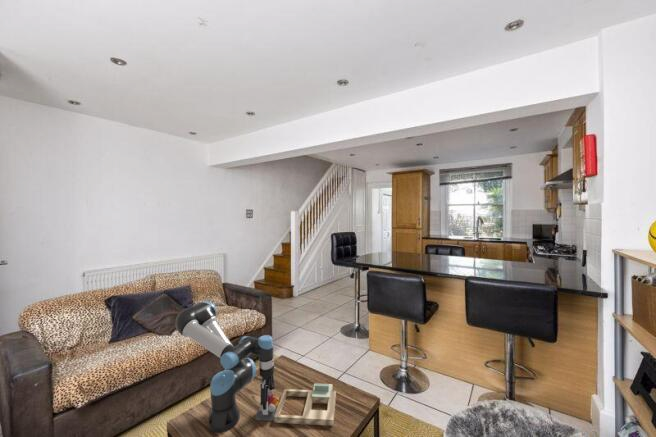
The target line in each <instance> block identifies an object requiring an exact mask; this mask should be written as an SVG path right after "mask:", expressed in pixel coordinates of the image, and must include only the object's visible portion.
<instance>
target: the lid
mask: <svg viewBox="0 0 656 437" xmlns="http://www.w3.org/2000/svg"><path fill="white" fill-rule="evenodd" d="M331 384H332V383H313V386H314V388H312V390H313V393H312V397H314V398H330V392H331Z"/></svg>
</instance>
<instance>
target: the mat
mask: <svg viewBox="0 0 656 437" xmlns="http://www.w3.org/2000/svg"><path fill="white" fill-rule="evenodd" d="M277 407H278V406H277ZM277 407H276V408H275V410H274V411H273V412H270V411H269V410H268V415H263V412H262V411H261V405H260V406H259V409H258V411H257V413H256V415H255V417H254V421H266V422H267V421H269V422H271V421H272V422H274V415H275V412H276V410H277Z"/></svg>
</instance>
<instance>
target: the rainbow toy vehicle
mask: <svg viewBox="0 0 656 437" xmlns="http://www.w3.org/2000/svg"><path fill="white" fill-rule="evenodd" d="M267 402H268V410H269V411H270V412H273V411H274V410H275V408H276V407H277V406H278V405H279V402H280V399H279V396H276V395H275V396H274V393H273V394H271V396H270V395H269V394H268V396H267ZM260 406H261V411H262V412H263V409H262V405H261V404H260Z"/></svg>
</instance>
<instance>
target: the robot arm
mask: <svg viewBox="0 0 656 437" xmlns="http://www.w3.org/2000/svg"><path fill="white" fill-rule="evenodd" d="M217 313H218V311H217V307H216V305H215V304H214V303H213V302H211V301H207V300H205V301H202V302H199V303H197V304H195V305H191V306H190V307H187V308H186V307H185V308H184V309H183V310H181V311H180V312H179V313H178V314H177V316H176V317H175V329H176V330H177V332H178V333H179V335H182V336H183V337H184V338H190V339H191V340H192V341H194V342H196V343H197V344H199V345H200V346H202V347H203V348H204V349H206V350H207V351H208V352H210V353H213V355H215V356H216V357H218V358H220V360H219V361H220V365H221V366H222V367H223V369H224V370H222V371H218V372H217V373H216V374H215V375H213V377H212V378H211V380H210V387H209V390H210V391H209V392H210V405H211V410H210V413H209V417H208V420H207V422H208V425H207V426H208V429H209V430H210V431H212V432H214V433H223V432H227V431H229V430H231V429H232V428H234V427H235V426H236V425H237V424H238V423H239V421H240V418H241V414H240V413H241V412H240V409H239V406H238V404H237V399H236V398H237V397H236V395H237V393H238V392H240V391H241V390H242V389H243V388H244V387H246V386H247V385H248V384H249V383H250V382H252V380H253V379H255V376H256V375H257V374H256V373H257V366H256V364H255V362H254V360H253V359H251V358H249V355H251V354H254V355H258V365H259V366H258V367H259V369H258V370H259V376H260V377H262V381H261V382H262V383H261V384H260V385H259V386H260V402H259V404H260V406H261V405H262V409H263V415H268V402H267V396H268V394H269V395H270V396H271V394H273V395H274V390H275V389H276V388H275V379H274V373H275V360H274V340H273V339H274V338H273V337H272V336H271V335H269V334H264V335H262V336H259V337H258V338H257V337H254V336H248V335H247V336H242V337H241V338H240V340H239V342H238V344H237V345H236V346H234V345H233V343H232V342H231V340H230V339H229V338H228V336H227V335H226V333H225V332H224V331H223V329H222V327H221V326H220V324H219V323H218V322H217V320H218V319H217V318H218V316H217Z"/></svg>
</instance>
